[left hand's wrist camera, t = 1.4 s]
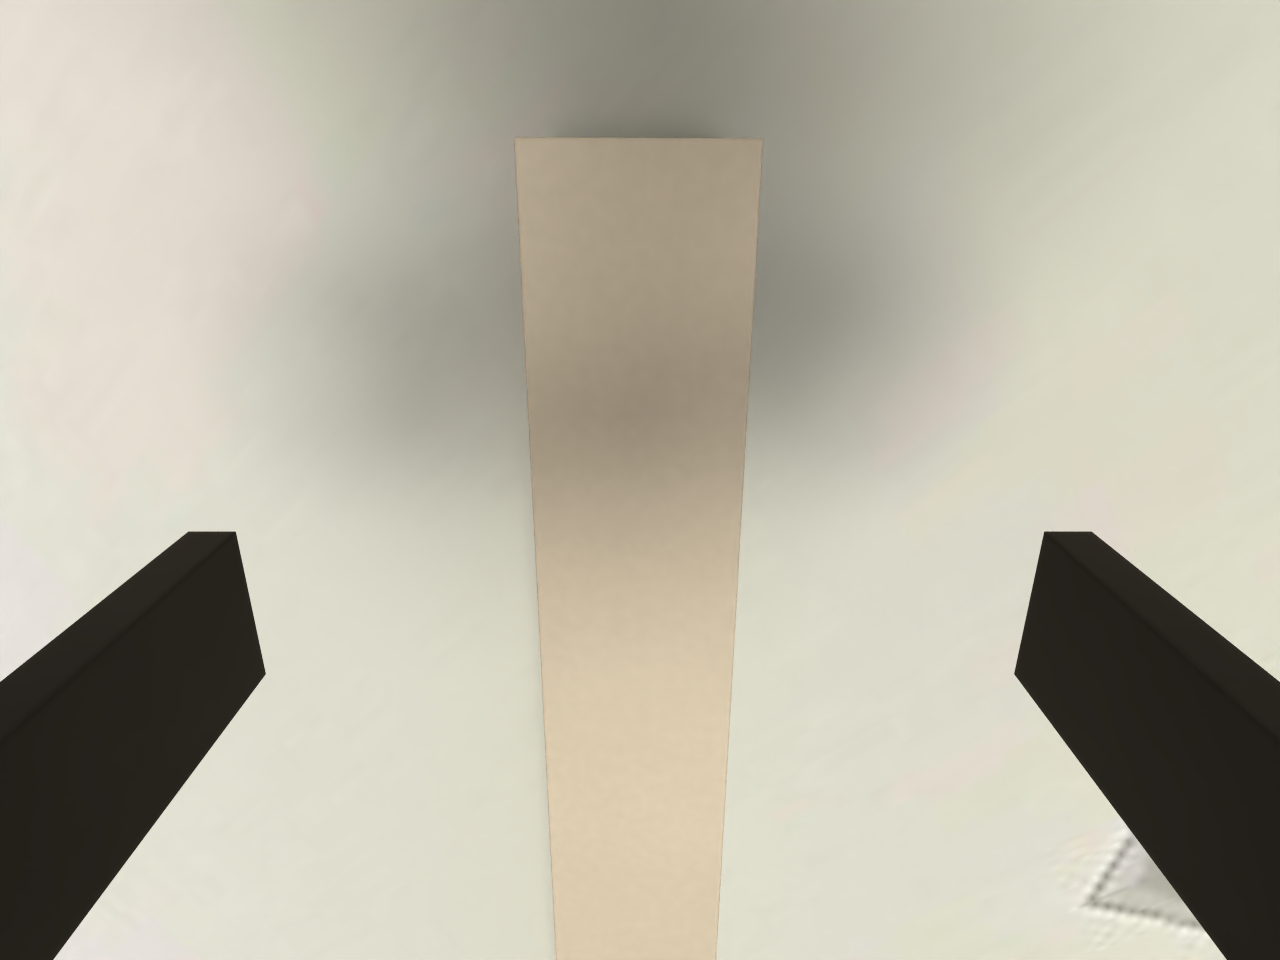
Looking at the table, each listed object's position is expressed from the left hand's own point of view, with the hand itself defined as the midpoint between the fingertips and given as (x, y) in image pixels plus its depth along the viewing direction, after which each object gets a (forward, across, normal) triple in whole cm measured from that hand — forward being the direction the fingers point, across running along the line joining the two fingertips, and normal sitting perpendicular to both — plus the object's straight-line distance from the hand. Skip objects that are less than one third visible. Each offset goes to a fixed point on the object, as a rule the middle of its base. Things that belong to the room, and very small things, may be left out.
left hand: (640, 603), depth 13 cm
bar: (+16, 0, -27) cm, 31 cm away
